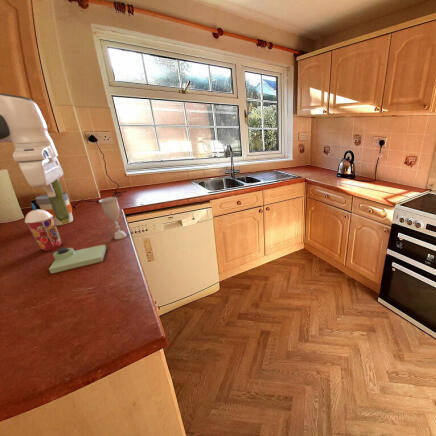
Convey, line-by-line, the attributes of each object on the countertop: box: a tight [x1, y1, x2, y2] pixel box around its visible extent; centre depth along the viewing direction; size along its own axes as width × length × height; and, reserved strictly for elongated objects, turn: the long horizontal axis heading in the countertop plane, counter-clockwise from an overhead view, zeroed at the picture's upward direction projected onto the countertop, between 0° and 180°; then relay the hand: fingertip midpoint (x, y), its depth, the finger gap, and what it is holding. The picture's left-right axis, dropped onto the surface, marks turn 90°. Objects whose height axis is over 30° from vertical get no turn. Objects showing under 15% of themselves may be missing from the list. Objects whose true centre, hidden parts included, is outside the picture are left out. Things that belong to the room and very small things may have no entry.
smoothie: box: [24, 202, 63, 252], centre depth 101 cm, size 8×8×20 cm
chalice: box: [98, 196, 127, 240], centre depth 109 cm, size 7×7×18 cm
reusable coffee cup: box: [35, 191, 74, 227], centre depth 129 cm, size 13×13×15 cm
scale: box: [48, 243, 107, 274], centre depth 93 cm, size 15×12×4 cm
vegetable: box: [44, 179, 69, 225], centre depth 81 cm, size 4×4×20 cm
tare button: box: [56, 246, 69, 254], centre depth 93 cm, size 3×3×2 cm
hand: (55, 194), depth 81 cm, fingers closed on vegetable, 4 cm apart
